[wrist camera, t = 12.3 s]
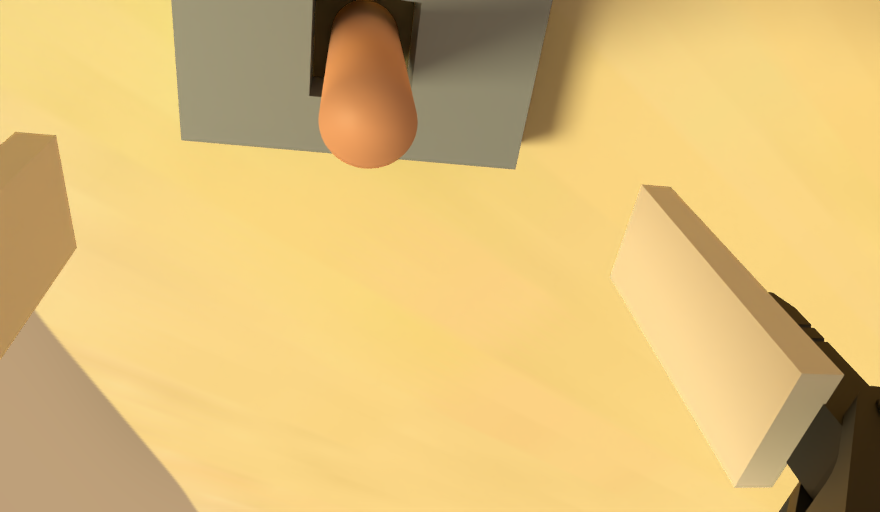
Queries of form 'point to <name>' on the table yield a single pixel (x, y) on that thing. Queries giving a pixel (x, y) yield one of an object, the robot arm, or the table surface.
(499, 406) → the table surface
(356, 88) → the peg
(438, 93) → the hole block
